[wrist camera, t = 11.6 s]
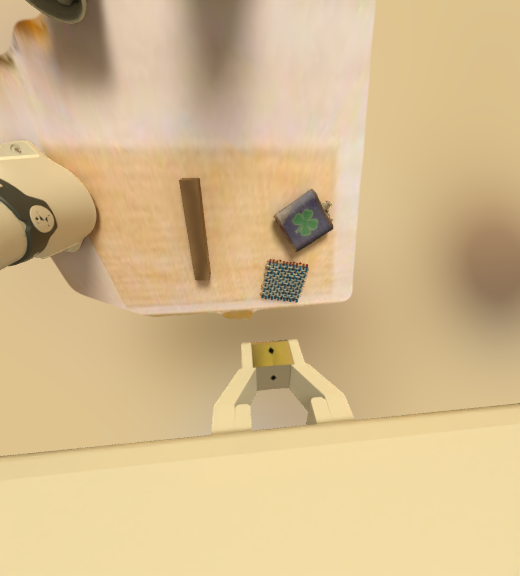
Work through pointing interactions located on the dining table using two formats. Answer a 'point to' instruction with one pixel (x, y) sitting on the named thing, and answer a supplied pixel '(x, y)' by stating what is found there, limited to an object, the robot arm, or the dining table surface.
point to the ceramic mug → (61, 9)
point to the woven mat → (284, 280)
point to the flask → (305, 220)
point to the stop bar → (195, 226)
